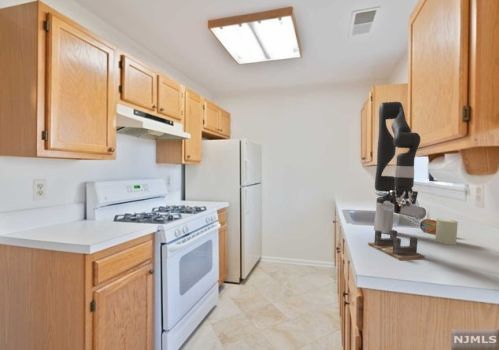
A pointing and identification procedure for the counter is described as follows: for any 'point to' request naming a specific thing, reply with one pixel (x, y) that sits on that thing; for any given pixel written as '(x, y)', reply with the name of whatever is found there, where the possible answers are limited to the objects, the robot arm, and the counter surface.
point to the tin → (428, 226)
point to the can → (446, 231)
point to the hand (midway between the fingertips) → (402, 213)
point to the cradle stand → (396, 246)
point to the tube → (406, 209)
